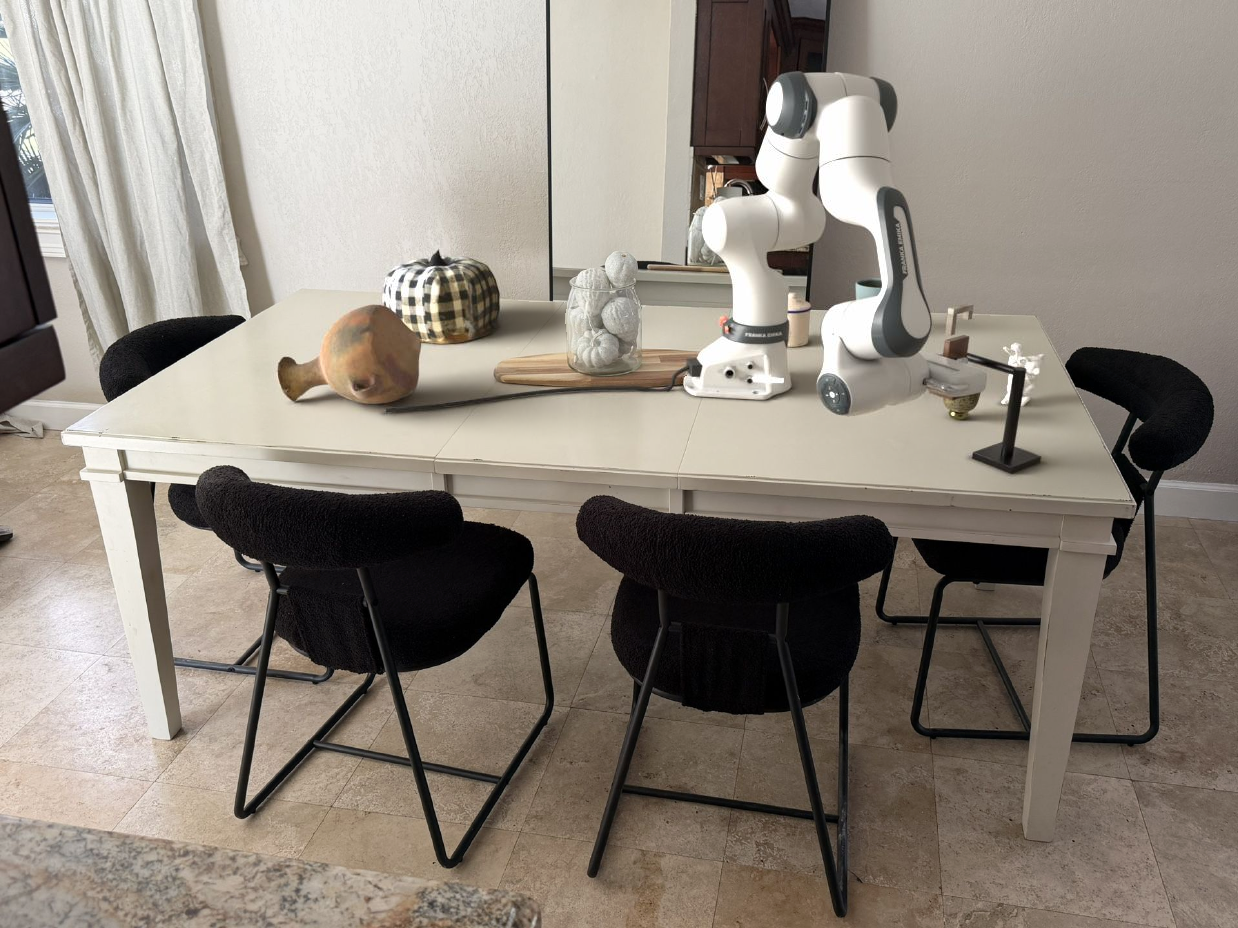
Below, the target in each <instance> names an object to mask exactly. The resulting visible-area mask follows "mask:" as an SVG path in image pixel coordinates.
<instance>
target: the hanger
mask: <svg viewBox="0 0 1238 928" xmlns="http://www.w3.org/2000/svg"><path fill="white" fill-rule="evenodd" d="M973 312H974V304H972V303H963V304H959V305H955V306H951V307H947V316H946V324H945V332H944V334H945V335H947V336H951V337H950V338H947V339H944V343H943V349H942V350H943V351H942V354H943V357H947V358H950V359H953V360H954V358H955V357H959V356H961V357H964V358H967V353H969V352H968V351H969V343H970V336H969V335H965V334H962V335H958V336H955V335H956V327H957V319H958V315H961V314H962V319H963V320H966V321H970V320H973ZM952 336H954V337H952ZM928 390H929V389H928ZM928 393H929V394H931V395H935V396H936V397H940V398H942V399H943V398H945V399H948V400H951V401H953V400H956V399H960V398H963V397H966V396H969V395H966V396H959V397H952V396H947V395H944V394H941V393H938V392H935V391H932V390H929V391H928Z"/></svg>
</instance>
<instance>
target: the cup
mask: <svg viewBox="0 0 1238 928" xmlns="http://www.w3.org/2000/svg"><path fill="white" fill-rule="evenodd" d="M981 394H982V392H980V393H976V394H971V395H969V396H966V397H963V398H960V399H956V400H953V401H951V400H948V399H945V398H943V397H942V402H943V405H944V406H945V408H946V409H948V416H949V417H950V418H951V419H952V420H956V421H963V420H966V419H967V418H968V417H969V415H970V413H969V412H971V411H973V410H974V409H975V408H976V407H977V405H978V403H979V401H980V398H981V397H980V396H981Z"/></svg>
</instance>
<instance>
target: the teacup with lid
mask: <svg viewBox="0 0 1238 928" xmlns="http://www.w3.org/2000/svg"><path fill="white" fill-rule="evenodd" d="M811 310H812V305H811V303H810V302H808V301H807V300H803V299H802V298H801V297H798V295H797V293H795V292H789V296H788V315H787V318H788V320H789V325H790V328H789V342H788V346H787V348H799V347H802V346H806V345H807V344H808V343H809V337H810V336H809V335H810V321H811Z"/></svg>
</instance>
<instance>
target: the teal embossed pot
mask: <svg viewBox="0 0 1238 928" xmlns="http://www.w3.org/2000/svg"><path fill="white" fill-rule="evenodd" d="M881 289H882V279H881V277H869V278H868V277H867V278H861V279H858V280H856V282H855V300H857V299H858V300H859V299H865V298H869V297H874V296H878V295H879V293H880V291H881Z"/></svg>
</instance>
